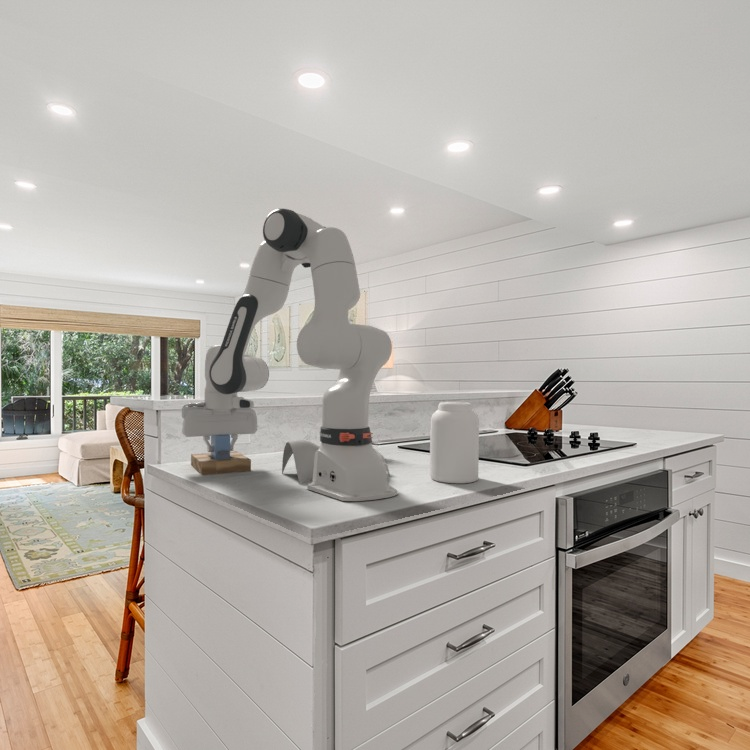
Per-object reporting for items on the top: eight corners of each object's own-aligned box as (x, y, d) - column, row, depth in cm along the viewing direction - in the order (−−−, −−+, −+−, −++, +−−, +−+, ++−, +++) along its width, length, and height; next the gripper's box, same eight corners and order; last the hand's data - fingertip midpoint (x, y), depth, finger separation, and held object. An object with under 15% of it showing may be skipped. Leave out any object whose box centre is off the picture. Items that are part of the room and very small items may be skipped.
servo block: (231, 465, 142) (231, 436, 142) (216, 466, 140) (216, 436, 140) (223, 459, 150) (224, 432, 150) (209, 460, 148) (209, 433, 148)
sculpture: (360, 465, 152) (360, 432, 152) (392, 478, 135) (392, 441, 135) (278, 472, 141) (278, 436, 141) (301, 486, 124) (301, 446, 124)
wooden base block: (250, 470, 141) (250, 459, 141) (201, 474, 135) (201, 463, 135) (236, 461, 155) (236, 451, 155) (191, 464, 149) (191, 454, 149)
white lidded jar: (440, 485, 126) (442, 403, 126) (422, 475, 138) (423, 400, 138) (487, 483, 129) (488, 403, 129) (465, 473, 141) (466, 400, 141)
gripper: (183, 403, 137) (183, 455, 137) (259, 402, 147) (258, 450, 147) (180, 402, 143) (179, 452, 143) (253, 400, 152) (252, 447, 153)
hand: (220, 451), depth 145 cm, fingers closed on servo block, 4 cm apart
